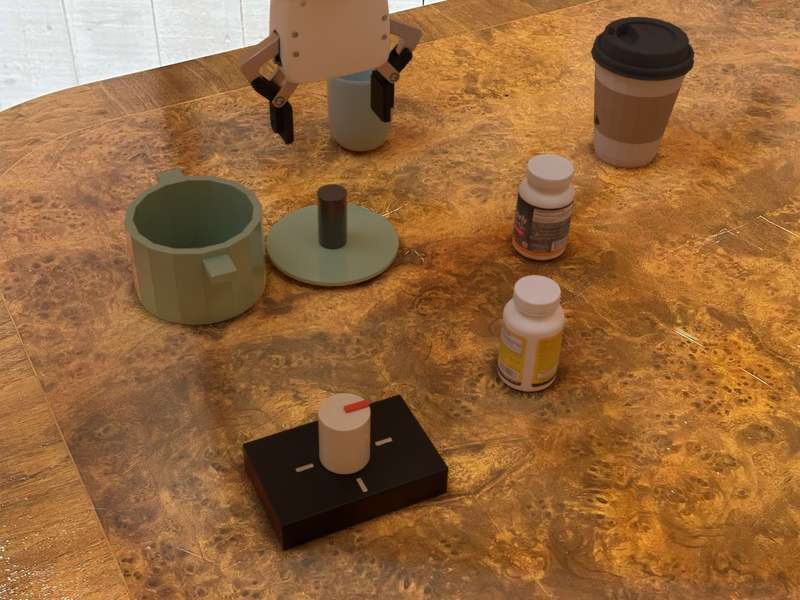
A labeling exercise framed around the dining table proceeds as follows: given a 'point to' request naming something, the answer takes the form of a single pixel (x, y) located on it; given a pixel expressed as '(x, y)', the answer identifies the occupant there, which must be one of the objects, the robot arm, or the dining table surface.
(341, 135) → the cup
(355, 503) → the panel
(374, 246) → the pot lid
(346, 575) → the dining table surface
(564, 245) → the pill bottle
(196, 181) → the pot
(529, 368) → the supplement bottle
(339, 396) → the knob
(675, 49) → the coffee cup
